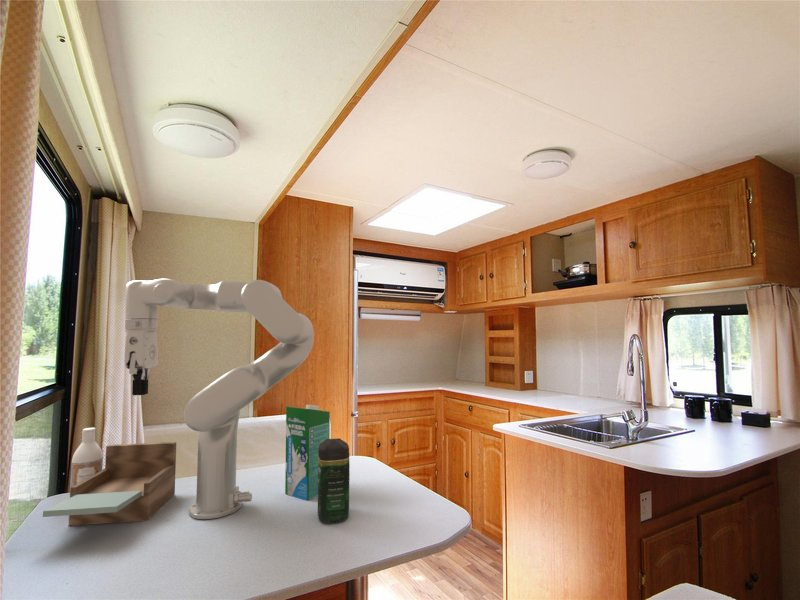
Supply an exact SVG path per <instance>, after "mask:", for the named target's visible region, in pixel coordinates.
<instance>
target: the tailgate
mask: <svg viewBox="0 0 800 600" xmlns="http://www.w3.org/2000/svg"><path fill="white" fill-rule="evenodd" d="M141 493H142V491H129V492H112V493H95V494H78V495H75V496H73V497H71V498H70V497H69V498H67V499H65V500H62V501H61V502H58V503H57V504H55V505H52V506H51V507H48V508H47V509H44V510H43V511H42V518H47V517H62V516H65V517H66V516H69V515H81V514H96V513H111V512H117V511H119V510H120V509H122V508H123V507H125V506H126V505H128V504H130V503H131V502H133V501H134V500H136V499H137V498H139V497H140V496H141Z"/></svg>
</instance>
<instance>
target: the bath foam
mask: <svg viewBox="0 0 800 600" xmlns="http://www.w3.org/2000/svg"><path fill="white" fill-rule="evenodd" d="M81 434H82V435H81V443H80V445H78V446H77V448H76V450H75V451H74V453H73V455H72V459H71V465H70V466H71V469H70V485H69V490H70V489H71V487H73V486H74V485H76V484H78V483H80V482H81V481H83V480H85V479H87V478H89V477H90V476H92V475H94V474H96V473H98V472H99V471H101V470H103V463H104V462H103V459H104V456H103V451H102V448H101V446H100V445H99V444H98V442H97V441H96V427H85V428H83V429H82V431H81Z"/></svg>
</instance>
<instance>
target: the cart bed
mask: <svg viewBox="0 0 800 600" xmlns="http://www.w3.org/2000/svg"><path fill="white" fill-rule="evenodd" d="M104 463H105V465H104V469H103V468H102V470H101V471H99V472H98V473H96V474H94V475H92V476H90V477H89V478H87V479H85V480H83V481H81V482H80V483H78V484H76V485H74V486H73V487H71V489H70V488H69V498H71V497H73V496H75V495H78V494H95V493H112V492H129V491H142V493H141V496H140V497H139V498H137V499H136V500H134V501H133V502H131V503H130V504H128V505H126V506H125V507H123V508H122V509H120V510H119V511H117V512H111V513H96V514H81V515H68V526H69V525H72V526H86V525H98V524H101V525H102V524H114V523H115V522H116V523H127V522H129V523H130V522H131V523H132V522H142V520H145V521H149V520H150V519H151V518H152V517H153V516H154V515H155V514H156V513H158V511H159V510H161V508H163V507H164V506H165V505H166V504H167V503H168V502H169V501H170V500H171V499H172V498H173V497H174V496H175V494H176V468H177V467H176V463H177V441H168V442H167V441H166V442H165V441H164V442H163V441H162V442H147V443H142V442H141V443H123V444H122V443H120V444H109V445H106V447H105V462H104ZM164 504H165V505H164ZM163 505H164V506H163ZM148 519H149V520H148Z"/></svg>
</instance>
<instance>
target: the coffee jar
mask: <svg viewBox="0 0 800 600" xmlns="http://www.w3.org/2000/svg"><path fill="white" fill-rule="evenodd" d="M318 450H319V452H318V496H317V517H318V520H319V521H320V523H321V522H322V523H326V524H338V523H340V522H343V521H347V519H348V518H349V516H350V475H351V473H350V468H351V467H350V446H349V444H348V442H347V441H345V440H343V439H341V438H330V439H326V440H325V441H323V442H322V443H321V444H320V445H319V447H318Z"/></svg>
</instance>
